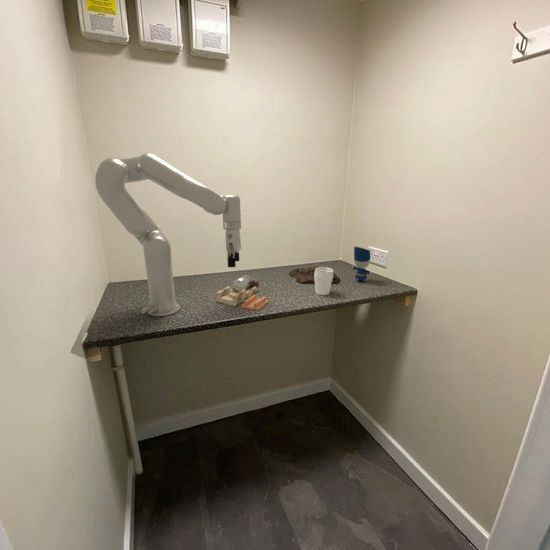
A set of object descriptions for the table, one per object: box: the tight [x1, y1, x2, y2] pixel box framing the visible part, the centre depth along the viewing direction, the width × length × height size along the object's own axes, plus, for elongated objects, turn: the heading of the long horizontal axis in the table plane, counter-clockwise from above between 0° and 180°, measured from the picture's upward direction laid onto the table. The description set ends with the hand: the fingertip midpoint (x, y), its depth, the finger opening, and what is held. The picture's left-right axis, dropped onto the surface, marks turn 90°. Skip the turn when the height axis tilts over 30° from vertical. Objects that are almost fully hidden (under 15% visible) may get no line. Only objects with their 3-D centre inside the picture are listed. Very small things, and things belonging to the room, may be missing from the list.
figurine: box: [352, 246, 372, 282], centre depth 153 cm, size 13×9×20 cm
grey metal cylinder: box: [230, 274, 254, 293], centre depth 136 cm, size 10×6×6 cm, turn 152°
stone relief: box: [288, 266, 341, 286], centre depth 162 cm, size 26×4×30 cm
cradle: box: [241, 294, 270, 312], centre depth 124 cm, size 10×8×3 cm
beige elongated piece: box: [215, 279, 260, 307], centre depth 133 cm, size 21×10×5 cm, turn 154°
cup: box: [314, 266, 334, 296], centre depth 138 cm, size 9×9×12 cm
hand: (233, 264), depth 126 cm, fingers open, 9 cm apart
